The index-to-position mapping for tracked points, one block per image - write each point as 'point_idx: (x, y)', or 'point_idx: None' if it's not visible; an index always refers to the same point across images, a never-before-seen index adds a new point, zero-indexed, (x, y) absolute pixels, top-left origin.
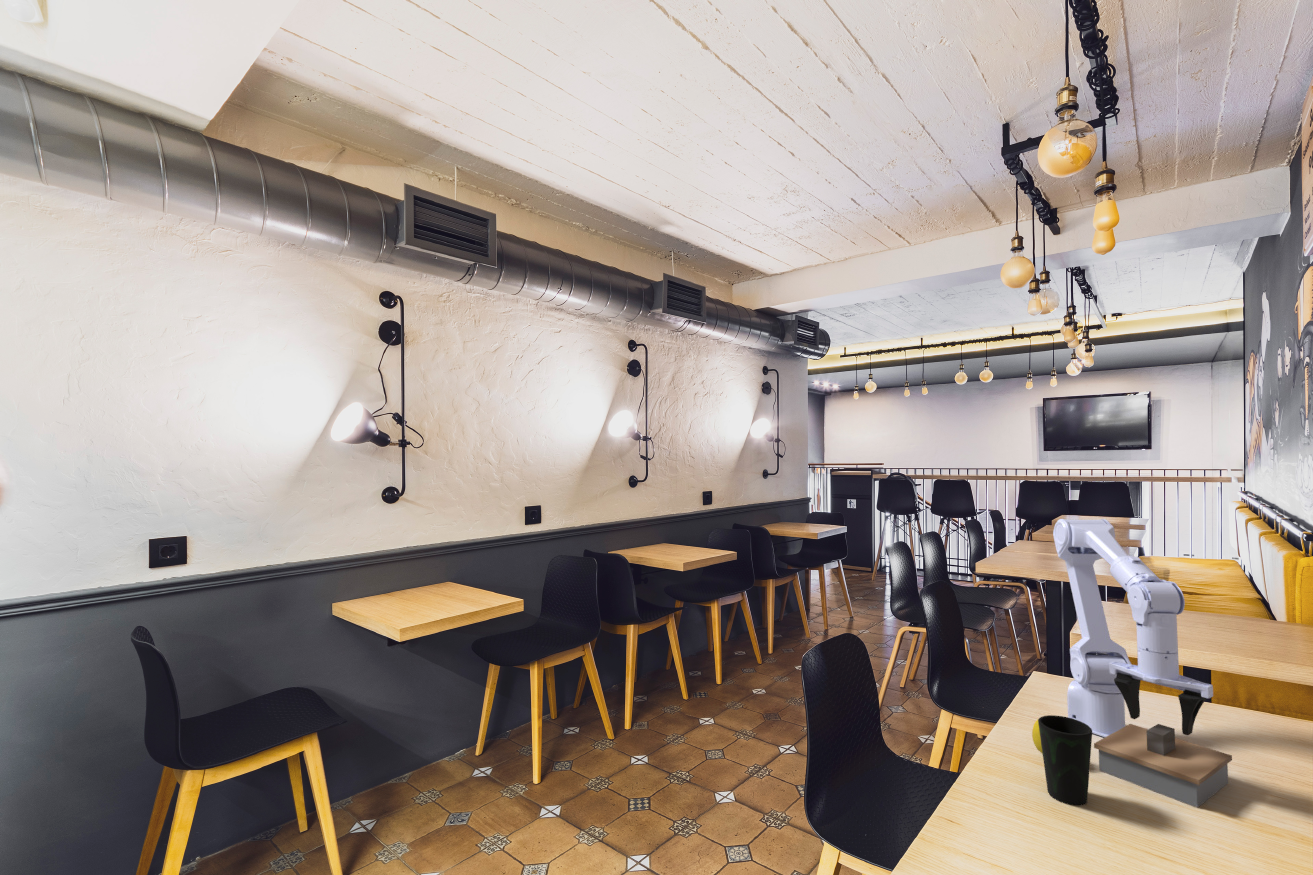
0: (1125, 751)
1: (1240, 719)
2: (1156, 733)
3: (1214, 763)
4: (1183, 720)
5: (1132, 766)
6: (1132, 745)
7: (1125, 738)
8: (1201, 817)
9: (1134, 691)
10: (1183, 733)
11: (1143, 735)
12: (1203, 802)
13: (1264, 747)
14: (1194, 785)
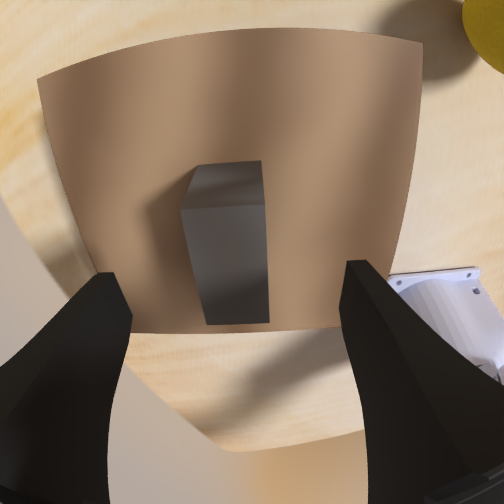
0: (309, 60)
1: (267, 438)
2: (214, 210)
3: (99, 254)
4: (68, 323)
5: None
6: (319, 156)
7: (360, 203)
8: (71, 33)
9: (391, 428)
10: (108, 272)
11: (324, 280)
12: None
13: (210, 409)
14: None
